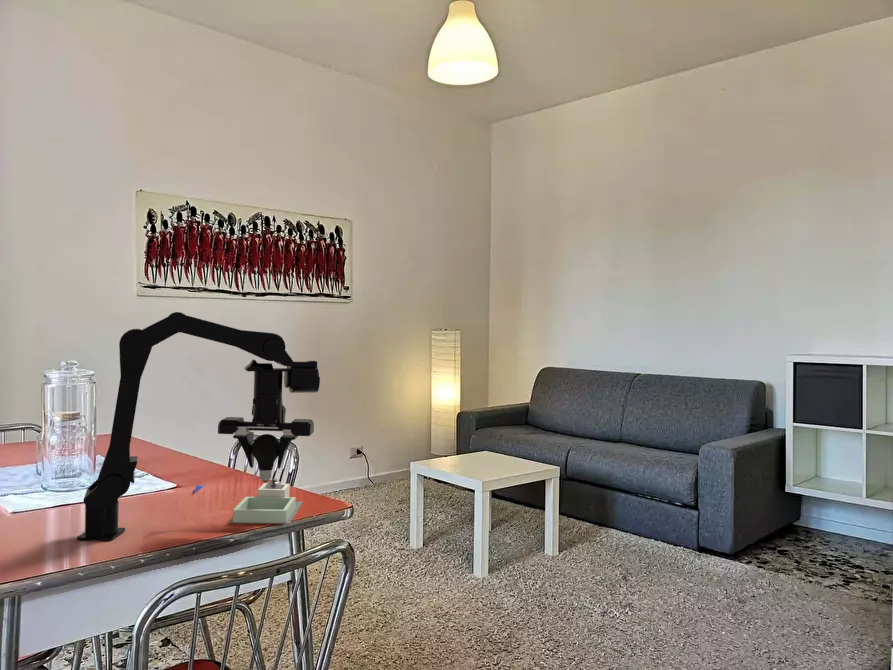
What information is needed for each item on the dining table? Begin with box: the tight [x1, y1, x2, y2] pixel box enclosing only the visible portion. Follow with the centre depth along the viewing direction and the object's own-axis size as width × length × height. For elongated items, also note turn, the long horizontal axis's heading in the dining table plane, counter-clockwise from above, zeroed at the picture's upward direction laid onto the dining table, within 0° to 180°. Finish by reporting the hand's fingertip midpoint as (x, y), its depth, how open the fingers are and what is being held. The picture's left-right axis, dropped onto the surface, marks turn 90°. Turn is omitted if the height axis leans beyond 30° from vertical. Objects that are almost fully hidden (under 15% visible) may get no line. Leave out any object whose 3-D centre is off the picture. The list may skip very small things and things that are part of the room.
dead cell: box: [267, 478, 282, 489], centre depth 152 cm, size 3×3×6 cm
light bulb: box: [252, 433, 280, 483], centre depth 143 cm, size 6×6×10 cm
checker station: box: [228, 482, 304, 525], centre depth 147 cm, size 17×12×5 cm
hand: (265, 467), depth 143 cm, fingers closed on light bulb, 5 cm apart
